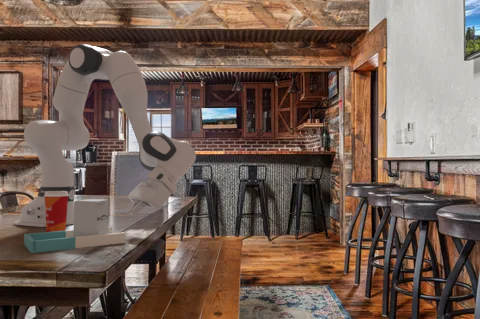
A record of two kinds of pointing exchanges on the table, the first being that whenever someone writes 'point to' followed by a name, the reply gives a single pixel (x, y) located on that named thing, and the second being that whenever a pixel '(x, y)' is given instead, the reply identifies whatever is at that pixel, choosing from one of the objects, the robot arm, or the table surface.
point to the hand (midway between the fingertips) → (130, 213)
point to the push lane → (69, 240)
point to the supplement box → (90, 217)
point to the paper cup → (56, 210)
